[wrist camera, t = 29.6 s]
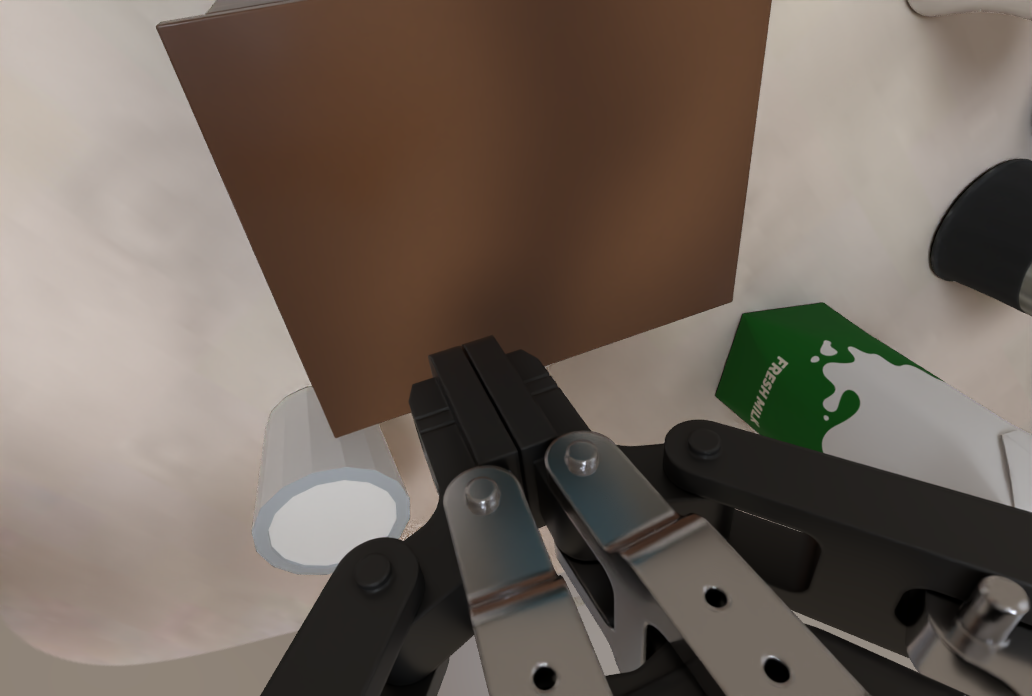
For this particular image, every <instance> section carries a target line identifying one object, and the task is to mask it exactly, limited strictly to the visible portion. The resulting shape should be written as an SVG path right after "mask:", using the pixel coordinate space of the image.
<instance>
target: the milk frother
mask: <svg viewBox="0 0 1032 696" xmlns="http://www.w3.org/2000/svg"><path fill="white" fill-rule="evenodd" d="M931 259H932V261H931V263H932V268H933V270H934V272H935V274H936V275H937V276H938V277H940V278H942V279H944V280H946V281H956V282H958V283H960V284H963V285H965V286H968V287H970V288H972V289H974V290H977V291H979V292H981V293H983V294H986V295H988V296H990V297H992V298H995V299H997V300H999V301H1001V302H1003V303H1005V304H1007V305H1009V306H1011V307H1013V308H1015V309H1017V310H1019V311H1021V312H1023V313H1026V314H1028V315H1030V316H1032V161H1031V160H1028V159H1014V160H1011V161H1007V162H1005V163H1002V164H1000V165H998V166H996V167H994V168H993V169H992V170H990V171H988V172H987V173H985V174H984V175H983V176H982V177H981V178H979V179H978V180H977V181H976V182H974V183H973V184H972V185H971V186H970V187H969V188H968V189H967V190H966V191H965V192H964V193H963V194H962V195H961V197H960V198H959V199H958V200H957V201H956V203H955V204H954V205H953V207H952V208H951V209H950V211H949V213H948V214H947V216H946V217H945V219H944V221H943V223H942V225H941V226H940V228H939V230H938V232H937V235H936V238H935V241H934V243H933V247H932V252H931Z"/></svg>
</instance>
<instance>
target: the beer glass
mask: <svg viewBox="0 0 1032 696" xmlns="http://www.w3.org/2000/svg"><path fill="white" fill-rule="evenodd" d="M907 1H908V3H909V5H910V7H911V8H912V9H913V10H914V11H915V12H917V13H918V14H921V15H923V16H928V17H936V16H945V15H953V14H961V13H970V12H992V13H1000V14H1006V15H1012V16H1016V17H1020V18H1023V19H1027V20H1031V21H1032V0H907Z"/></svg>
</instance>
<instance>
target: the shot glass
mask: <svg viewBox="0 0 1032 696" xmlns="http://www.w3.org/2000/svg"><path fill="white" fill-rule="evenodd" d="M409 519H410V498H409V496H408V493H407V491H406V488H405V486H404V484H403V481H402V479H401V476H400V474H399V472H398V469H397V467H396V464H395V462H394V460H393V457H392V455H391V452H390V450H389V448H388V445H387V443H386V440H385V438H384V435H383V433H382V431H381V428H380V426H379V424H376V425H373V426H370V427H367V428H364V429H362V430H359V431H356V432H353V433H350V434H347V435H344V436H341V437H338V438H335V437H334V435H333V433H332V430H331V428H330V426H329V423H328V421H327V419H326V417H325V414H324V412H323V410H322V407H321V405H320V403H319V401H318V398H317V396H316V394H315V391H314V389H313V387H306V388H304V389H302V390H300V391H297V392H295V393H293V394H291V395H289V396H287V397H285V398H284V399H283V400H282V401H281V402H280V403H279V404H278V405H277V406H276V407H275V408H274V409H273V410H272V411H271V414H270V417H269V419H268V422H267V425H266V428H265V435H264V443H263V450H262V458H261V465H260V472H259V480H258V487H257V495H256V502H255V510H254V517H253V524H252V535H253V539H254V543H255V548H256V552H258V553H259V554H260V555H261V556H262V557H263V558H264V559H265V560H266V561H267V562H268V563H270V564H271V565H272V566H273V567H276V568H279V569H282V570H285V571H288V572H291V573H295V574H306V575H327V574H331V573H333V572H334V570H335V568H336V567H337V565H338V564H339V562H340V561H341V560H342V558H343V557H344V556H345V555H346V554H347V553H348V552H350V551H351V550H352V549H353V548H355V547H356V546H358V545H359V544H361V543H364V542H366V541H368V540H371V539H375V538H380V537H390V538H396V539H399V538H400V536H401V534H402V532H403V530H404V528H405V526H406V525H407V523H408V521H409Z"/></svg>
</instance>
